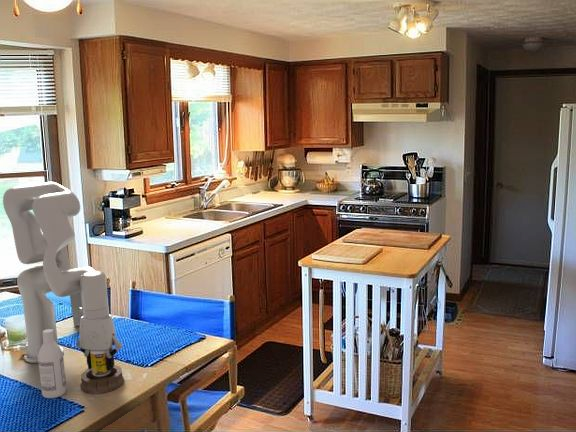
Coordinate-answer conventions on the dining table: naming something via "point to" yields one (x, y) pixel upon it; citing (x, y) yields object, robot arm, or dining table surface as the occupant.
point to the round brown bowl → (101, 381)
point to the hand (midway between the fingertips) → (101, 367)
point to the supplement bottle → (99, 363)
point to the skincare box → (76, 308)
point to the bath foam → (51, 367)
